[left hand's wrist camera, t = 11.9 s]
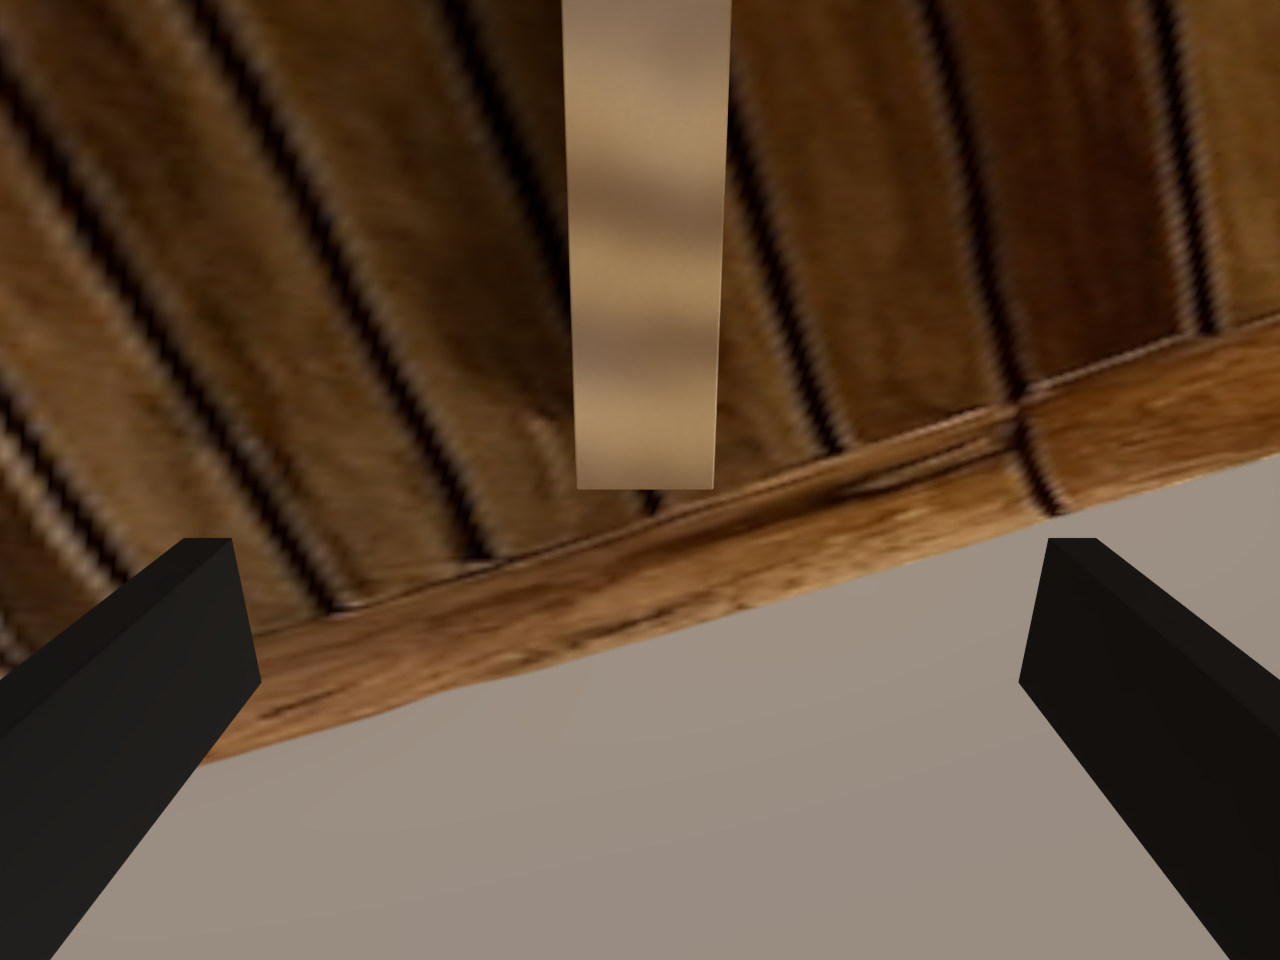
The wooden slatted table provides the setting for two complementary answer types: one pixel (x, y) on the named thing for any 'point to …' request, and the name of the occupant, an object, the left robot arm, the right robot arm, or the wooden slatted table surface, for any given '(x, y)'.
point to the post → (645, 235)
